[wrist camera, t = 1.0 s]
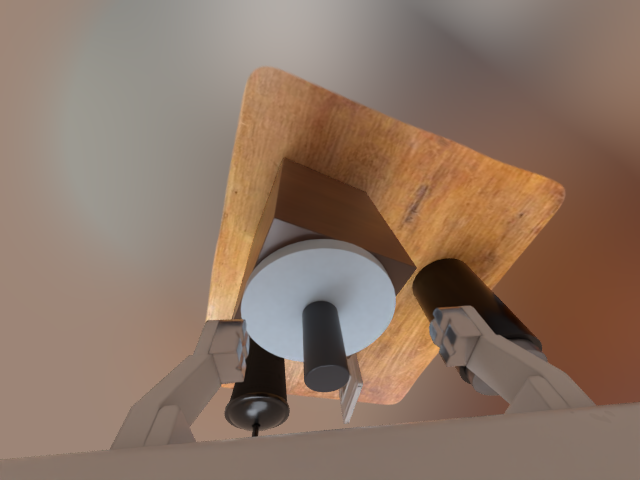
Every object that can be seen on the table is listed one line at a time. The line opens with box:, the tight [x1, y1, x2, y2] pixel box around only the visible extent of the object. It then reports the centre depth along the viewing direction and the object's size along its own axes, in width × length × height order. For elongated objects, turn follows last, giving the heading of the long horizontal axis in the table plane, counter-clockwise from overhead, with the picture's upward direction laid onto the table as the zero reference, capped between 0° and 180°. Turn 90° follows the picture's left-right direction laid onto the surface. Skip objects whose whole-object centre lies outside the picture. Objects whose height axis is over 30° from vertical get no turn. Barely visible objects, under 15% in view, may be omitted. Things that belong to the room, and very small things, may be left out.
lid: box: [241, 239, 396, 392], centre depth 18 cm, size 11×11×6 cm
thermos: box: [413, 258, 547, 395], centre depth 35 cm, size 9×9×16 cm
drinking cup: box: [225, 337, 290, 437], centre depth 35 cm, size 8×8×20 cm
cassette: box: [339, 353, 363, 424], centre depth 47 cm, size 12×2×8 cm, turn 172°
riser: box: [232, 158, 417, 359], centre depth 27 cm, size 11×11×16 cm
